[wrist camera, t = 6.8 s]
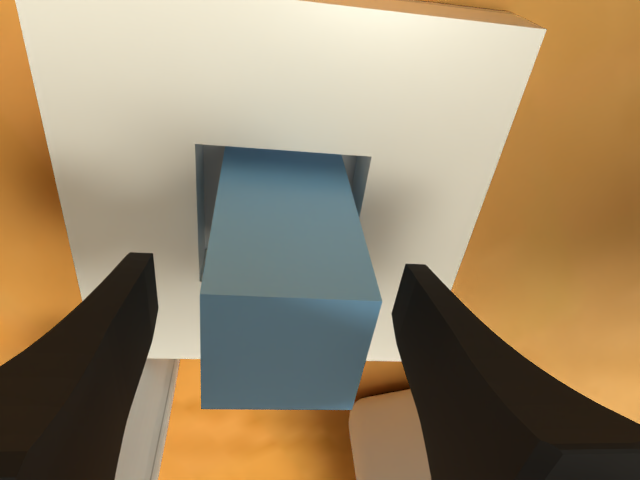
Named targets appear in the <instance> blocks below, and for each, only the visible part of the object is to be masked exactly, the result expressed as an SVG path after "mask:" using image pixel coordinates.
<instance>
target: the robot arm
mask: <svg viewBox="0 0 640 480" xmlns="http://www.w3.org/2000/svg"><path fill="white" fill-rule="evenodd" d="M158 308H159V307H158V297H157V287H156V278H155V268H154V258H153V253H137V252H130V253H128V254H127V255H126V256H125V257H124V258H123V259H122V261H121V262H120V263H119V264H118V265H117V266H116V267H115V268H114V269H113V270H112V272H111V273H110V274H109V275H108V276H107V277H106V278H105V279H104V280H103V281H102V282H101V283H100V284H99V285H98V286H97V287H96V288H95V289H94V290H93V291H92V292H91V293H90V294H89V295H88V296H87V297H86V298H85V299H84V300H83V301H82V302H81V303H80V304H79V305H78V306H77V307H76V308H75V309H74V310H73V311H71V312H70V313H69V314H68V315H67V316H66V317H65V318H64V319H63V320H61V321H60V322H59V323H58V324H57V325H56V326H55V327H53V328H52V329H51V330H50V331H49V332H47V333H46V334H45V335H44V336H42V337H41V338H40V339H39V340H37V341H36V342H35V343H33V344H32V345H31V346H29V347H28V348H27V349H25V350H24V351H23V352H21V353H20V354H18V355H17V356H15V357H14V358H12V359H11V360H9V361H8V362H6V363H5V364H3V365H2V366H0V480H115V475H116V469H117V464H118V459H119V455H120V450H121V445H122V441H123V436H124V431H125V427H126V423H127V419H128V416H129V412H130V409H131V406H132V403H133V400H134V396H135V393H136V390H137V387H138V384H139V381H140V378H141V375H142V372H143V369H144V366H145V363H146V359H147V356H148V353H149V350H150V347H151V344H152V340H153V335H154V330H155V325H156V319H157V314H158ZM391 315H392V321H393V328H394V334H395V339H396V344H397V348H398V351H399V354H400V358H401V361H402V364H403V367H404V371H405V374H406V377H407V380H408V383H409V386H410V390H411V393H412V396H413V399H414V402H415V405H416V409H417V412H418V416H419V420H420V423H421V428H422V433H423V438H424V443H425V448H426V453H427V458H428V464H429V469H430V475H431V480H640V424H638V423H636V422H634V421H632V420H630V419H628V418H626V417H624V416H622V415H620V414H618V413H616V412H614V411H612V410H610V409H608V408H606V407H604V406H602V405H600V404H598V403H596V402H594V401H592V400H591V399H589V398H587V397H585V396H584V395H582V394H580V393H578V392H577V391H575V390H573V389H572V388H570V387H568V386H567V385H565V384H563V383H562V382H560V381H558V380H557V379H555V378H554V377H552V376H551V375H549V374H548V373H546V372H545V371H543V370H542V369H540V368H539V367H537V366H536V365H535V364H533V363H532V362H530V361H529V360H528V359H526V358H525V357H524V356H522V355H521V354H520V353H518V352H517V351H516V350H514V349H513V348H512V347H511V346H509V345H508V344H507V343H506V342H504V341H503V340H502V339H501V338H500V337H498V336H497V335H496V334H495V333H494V332H493V331H492V330H490V329H489V328H488V327H487V326H486V325H485V324H484V323H483V322H482V321H480V320H479V319H478V318H477V317H476V316H475V315H474V314H473V313H472V312H471V311H470V310H469V309H468V308H467V307H466V306H465V305H464V304H463V303H462V302H461V301H460V300H459V299H458V298H457V297H456V296H455V295H454V294H453V293H452V292H451V291H450V290H449V288H448V287H447V286H446V285H445V284H444V283H443V282H442V281H441V280H440V279H439V278H438V277H437V276H436V275H435V274H434V273H433V272H432V271H431V269H430V268H429V267H428V266H427V265H425V264H405V267H404V271H403V274H402V278H401V282H400V285H399V289H398V292H397V296H396V299H395V303H394V306H393V310H392V313H391Z"/></svg>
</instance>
